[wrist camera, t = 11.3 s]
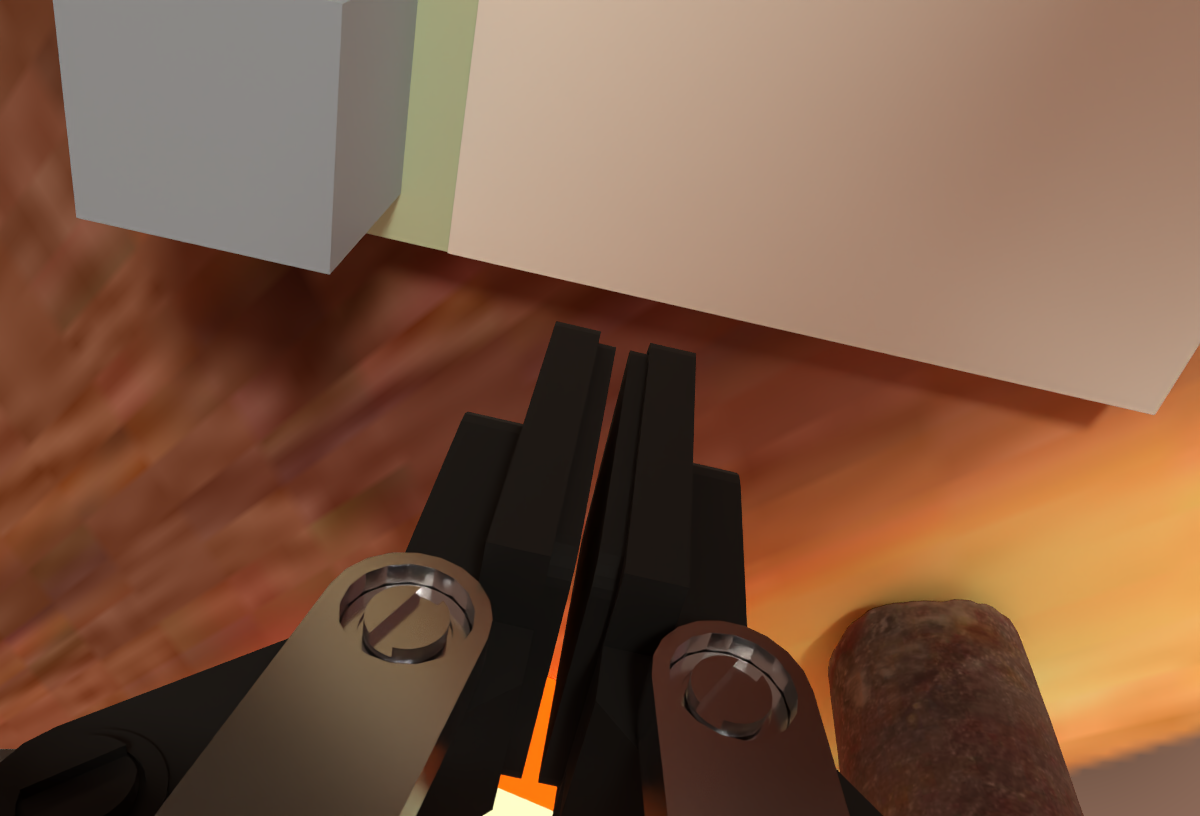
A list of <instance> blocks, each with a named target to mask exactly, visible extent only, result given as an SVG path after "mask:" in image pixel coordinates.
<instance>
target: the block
mask: <svg viewBox="0 0 1200 816" xmlns="http://www.w3.org/2000/svg"><path fill="white" fill-rule="evenodd" d="M53 5H54V14H55V24H56V33H57V42H58V51H59V60H60V70H61V79H62V88H63V97H64V106H65V116H66V125H67V134H68V143H69V153H70V162H71V171H72V180H73V189H74V199H75V208H76V217H77V218H80V219H85V220H89V221H94V222H98V223H103V224H107V225H111V226H116V227H120V228H125V229H129V230H134V231H138V232H143V233H147V234H151V235H156V236H160V237H165V238H169V239H174V240H178V241H182V242H187V243H191V244H196V245H200V246H205V247H209V248H214V249H218V250H222V251H227V252H231V253H236V254H240V255H245V256H249V257H254V258H258V259H262V260H267V261H271V262H276V263H280V264H285V265H289V266H294V267H298V268H302V269H307V270H311V271H316V272H320V273H325V274H329V275H330V274H331V272H332V271H333V270H334V269H335V268H336V267H337V266H338V264H339V263H340V262H341V261H342V260H343V259H344V258H345V256H346V255H347V254H348V253H349V252H350V251H351V250H352V249H353V247H354V246H355V245H356V244H357V243H358V242H359V241H360V239H361V238H362V237H363V236H364V235H365V234H366V233H367V231H368V230H369V229H370V228H371V227H372V226H373V225H374V224H375V222H376V221H377V220H378V219H379V218H380V217H381V216H382V214H383V213H384V212H385V211H386V210H387V209H388V208H389V206H390V205H391V204H392V203H393V202H394V201H395V200H396V198H397V197H398V196H399V195H400V194H401V186H402V175H403V164H404V152H405V141H406V130H407V118H408V107H409V96H410V84H411V73H412V62H413V50H414V39H415V28H416V16H417V5H418V0H53Z"/></svg>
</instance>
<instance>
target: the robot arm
mask: <svg viewBox="0 0 1200 816" xmlns="http://www.w3.org/2000/svg"><path fill="white" fill-rule="evenodd" d="M600 333H601V331H596V330H592V329H588V328H583V327H579V326H575V325H570V324H566V323H562V322H557V321H556V323H555V326H554V329H553V333H552V336H551V339H550V342H549V345H548V348H547V351H546V355H545V358H544V361H543V364H542V367H541V370H540V373H539V377H538V380H537V383H536V386H535V389H534V392H533V395H532V399H531V402H530V405H529V408H528V411H527V414H526V417H525V421H524V424H520V423H515V422H511V421H507V420H502V419H498V418H493V417H489V416H485V415H480V414H476V413H471V412H467V413H465V415H464V417H463V419H462V421H461V423H460V425H459V428H458V430H457V432H456V435H455V437H454V439H453V442H452V444H451V446H450V449H449V451H448V453H447V456H446V458H445V460H444V463H443V465H442V468H441V470H440V472H439V475H438V477H437V479H436V482H435V484H434V486H433V489H432V491H431V493H430V496H429V498H428V500H427V503H426V505H425V507H424V510H423V512H422V514H421V517H420V519H419V522H418V524H417V526H416V529H415V531H414V533H413V536H412V538H411V540H410V543H409V545H408V547H407V550H406V552H405V553H388V554H384V555H379V556H375V557H370V558H367V559H365V560H363V561H361V562H359V563H357V564H355V565H353V566H351V567H349V568H347V569H346V570H344V571H343V572H342V573H341V574H340V575H339V576H338V577H337V578H336V579H335V580H334V581H333V582H332V583H331V584H330V585H329V586H328V587H327V589H326V590H325V591H324V593H323V594H322V595H321V597H320V598H319V599H318V601H317V602H316V603H315V604H314V606H313V607H312V608H311V610H310V611H309V612H308V614H307V615H306V616H305V618H304V619H303V620H302V622H301V623H300V624H299V626H298V627H297V628H296V630H295V631H294V632H293V633H292V635H291V636H290V637H289V638H288V639H286V640H283V641H281V642H278V643H275V644H273V645H270V646H267V647H265V648H262V649H260V650H257V651H254V652H252V653H249V654H246V655H244V656H241V657H239V658H236V659H233V660H231V661H228V662H225V663H223V664H220V665H217V666H215V667H212V668H210V669H207V670H204V671H202V672H199V673H196V674H194V675H191V676H189V677H186V678H183V679H181V680H178V681H175V682H173V683H170V684H168V685H165V686H162V687H160V688H157V689H154V690H152V691H149V692H147V693H144V694H141V695H139V696H136V697H133V698H131V699H128V700H126V701H123V702H120V703H118V704H115V705H112V706H110V707H107V708H105V709H102V710H99V711H97V712H94V713H91V714H89V715H86V716H84V717H81V718H78V719H76V720H73V721H70V722H68V723H65V724H63V725H60V726H57V727H55V728H53V729H51V730H49V731H47V732H45V733H43V734H41V735H39V736H37V737H35V738H33V739H31V740H29V741H27V742H25V743H23V744H22V745H21V746H20V747H18V748H17V749H0V816H483V815H485V814H487V813H488V812H490V811H492V810H493V806H494V802H495V798H496V794H497V789H498V785H499V781H500V776H501V775H505V776H510V777H514V778H519V779H521V778H522V775H523V771H524V767H525V763H526V759H527V755H528V751H529V747H530V743H531V739H532V735H533V731H534V727H535V724H536V720H537V716H538V712H539V708H540V704H541V700H542V696H543V692H544V688H545V684H546V680H547V676H548V672H549V668H550V665H551V661H552V657H553V653H554V649H555V645H556V641H557V637H558V633H559V629H560V625H561V621H562V617H563V613H564V609H565V605H566V602H567V598H568V594H569V590H570V586H571V581H572V577H573V573H574V568H575V564H576V559H577V555H578V550H579V545H580V540H581V535H582V529H583V524H584V518H585V513H586V508H587V502H588V497H589V491H590V486H591V480H592V475H593V470H594V464H595V459H596V453H597V448H598V443H599V437H600V432H601V426H602V421H603V416H604V410H605V405H606V399H607V394H608V388H609V383H610V378H611V372H612V367H613V361H614V356H615V351H616V347H612V346H608V345H603V344H599V338H600ZM695 371H696V353H692V352H688V351H683V350H679V349H675V348H670V347H666V346H662V345H657V344H653V343H650V345H649V348H648V351H647V354H643V353H638V352H634V351H630V353H629V356H628V360H627V364H626V368H625V371H624V375H623V379H622V383H621V387H620V391H619V395H618V399H617V403H616V407H615V411H614V415H613V419H612V423H611V427H610V431H609V435H608V438H607V442H606V446H605V450H604V454H603V458H602V462H601V466H600V470H599V474H598V478H597V482H596V486H595V490H594V494H593V498H592V502H591V505H590V509H589V513H588V517H587V521H586V525H585V530H584V534H583V538H582V543H581V548H580V553H579V558H578V564H577V569H576V575H575V580H574V586H573V591H572V597H571V602H570V608H569V613H568V619H567V624H566V630H565V635H564V640H563V646H562V651H561V657H560V662H559V668H558V673H557V679H556V684H555V690H554V695H553V701H552V706H551V712H550V717H549V723H548V728H547V733H546V739H545V744H544V750H543V755H542V761H541V766H540V772H539V778H538V783H542V784H546V785H551V786H556V787H557V790H556V796H555V802H554V809H553V815H552V816H883V815H882V814H881V813H880V812H879V811H878V810H877V809H876V808H875V807H874V806H873V805H872V804H871V803H870V802H869V801H868V800H867V799H866V798H865V797H864V796H863V795H862V794H861V793H860V792H859V791H858V790H857V789H856V788H855V787H854V786H853V785H852V784H851V783H850V782H849V781H848V780H847V779H846V778H845V777H844V776H843V775H842V774H841V773H840V772H839V771H838V770H837V769H836V767H835V764H834V760H833V757H832V754H831V750H830V747H829V743H828V740H827V736H826V733H825V730H824V726H823V723H822V719H821V716H820V713H819V709H818V706H817V702H816V699H815V696H814V692H813V690H812V688H811V686H810V683H809V681H808V679H807V677H806V675H805V673H804V671H803V670H802V668H801V667H800V666H799V665H798V664H797V662H796V661H795V660H794V659H793V658H792V657H791V655H790V654H789V653H788V652H787V651H786V650H784V649H783V648H782V647H780V646H779V645H778V644H776V643H775V642H774V641H772V640H771V639H770V638H768V637H767V636H765V635H763V634H760V633H758V632H756V631H754V630H752V629H750V628H748V627H747V616H746V594H745V572H744V551H743V529H742V507H741V486H740V478H739V475H738V474H737V473H735V472H731V471H726V470H722V469H717V468H713V467H709V466H704V465H700V464H695V463H693V442H694V406H695Z"/></svg>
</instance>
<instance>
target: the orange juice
mask: <svg viewBox="0 0 1200 816" xmlns="http://www.w3.org/2000/svg"><path fill="white" fill-rule="evenodd" d="M555 684H556V680H554V679H551V678H549V677H547V680H546V684H545V688H544V692H543V696H542V700H541V704H540V708H539V712H538V716H537V720H536V724H535V727H534V731H533V735H532V739H531V743H530V747H529V751H528V755H527V759H526V763H525V767H524V771H523V775H522V778H521V779H519V778H514V777H510V776H505V775H501V776H500V781H499V785H498V789H497V794H496V798H495V802H494V806H493V810H492V811H490V812H488V813H487V814H485V815H483V816H552V815H553V809H554V802H555V796H556V790H557V787H556V786H551V785H546V784H542V783H538V778H539V772H540V766H541V761H542V755H543V750H544V744H545V739H546V733H547V728H548V723H549V717H550V712H551V706H552V701H553V695H554V690H555Z"/></svg>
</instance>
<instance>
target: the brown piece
mask: <svg viewBox="0 0 1200 816" xmlns="http://www.w3.org/2000/svg"><path fill="white" fill-rule="evenodd" d="M828 677H829V684H830V695H831V703H832V710H833V718H834V726H835V734H836V743H837V750H838V759H839V768H840V773H841V774H842V775H843V776H844V777H845V778H846V779H847V780H848V781H849V782H850V783H851V784H852V785H853V786H854V787H855V788H856V789H857V790H858V791H859V792H860V793H861V794H862V795H863V796H864V797H865V798H866V799H867V800H868V801H869V802H870V803H871V804H872V805H873V806H874V807H875V808H876V809H877V810H878V811H879V812H880V813H881V814H882V815H883V816H1084V815H1083V813H1082V810H1081V807H1080V805H1079V802H1078V799H1077V796H1076V793H1075V790H1074V787H1073V784H1072V781H1071V778H1070V775H1069V772H1068V769H1067V767H1066V764H1065V761H1064V758H1063V755H1062V752H1061V749H1060V747H1059V744H1058V741H1057V738H1056V735H1055V732H1054V729H1053V726H1052V723H1051V721H1050V718H1049V715H1048V712H1047V710H1046V707H1045V704H1044V702H1043V699H1042V696H1041V694H1040V691H1039V688H1038V685H1037V682H1036V679H1035V676H1034V674H1033V671H1032V668H1031V666H1030V663H1029V660H1028V658H1027V655H1026V652H1025V650H1024V647H1023V644H1022V642H1021V639H1020V637H1019V634H1018V632H1017V630H1016V629H1015V627H1014V625H1013V624H1012V622H1011V621H1010V619H1009V618H1007V617H1005V616H1004V615H1002V614H1001V613H999V612H998V611H997V610H996V609H995V608H993V607H991V606H989V605H987V604H977V603H975V602H973V601H970V600H958V599H954V600H950V601H945V602H936V601H910V602H904V603H892V604H888V605H884V606H881V607H877V608H874V609H871V610H869V611H867V612H866V613H865V614H864V615H863V616H862V617H861V618H859V619H857V620H856V621H855V622H853V623H852V624H851V625H850V626H849V627H848V628H847V629H846V631H845V633H844V635H843V636H842V638H841V640H840V642H839V643H838V645H837V646H836V648H835V649H834V651H833V653H832V656H831V658H830V661H829V667H828Z"/></svg>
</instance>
